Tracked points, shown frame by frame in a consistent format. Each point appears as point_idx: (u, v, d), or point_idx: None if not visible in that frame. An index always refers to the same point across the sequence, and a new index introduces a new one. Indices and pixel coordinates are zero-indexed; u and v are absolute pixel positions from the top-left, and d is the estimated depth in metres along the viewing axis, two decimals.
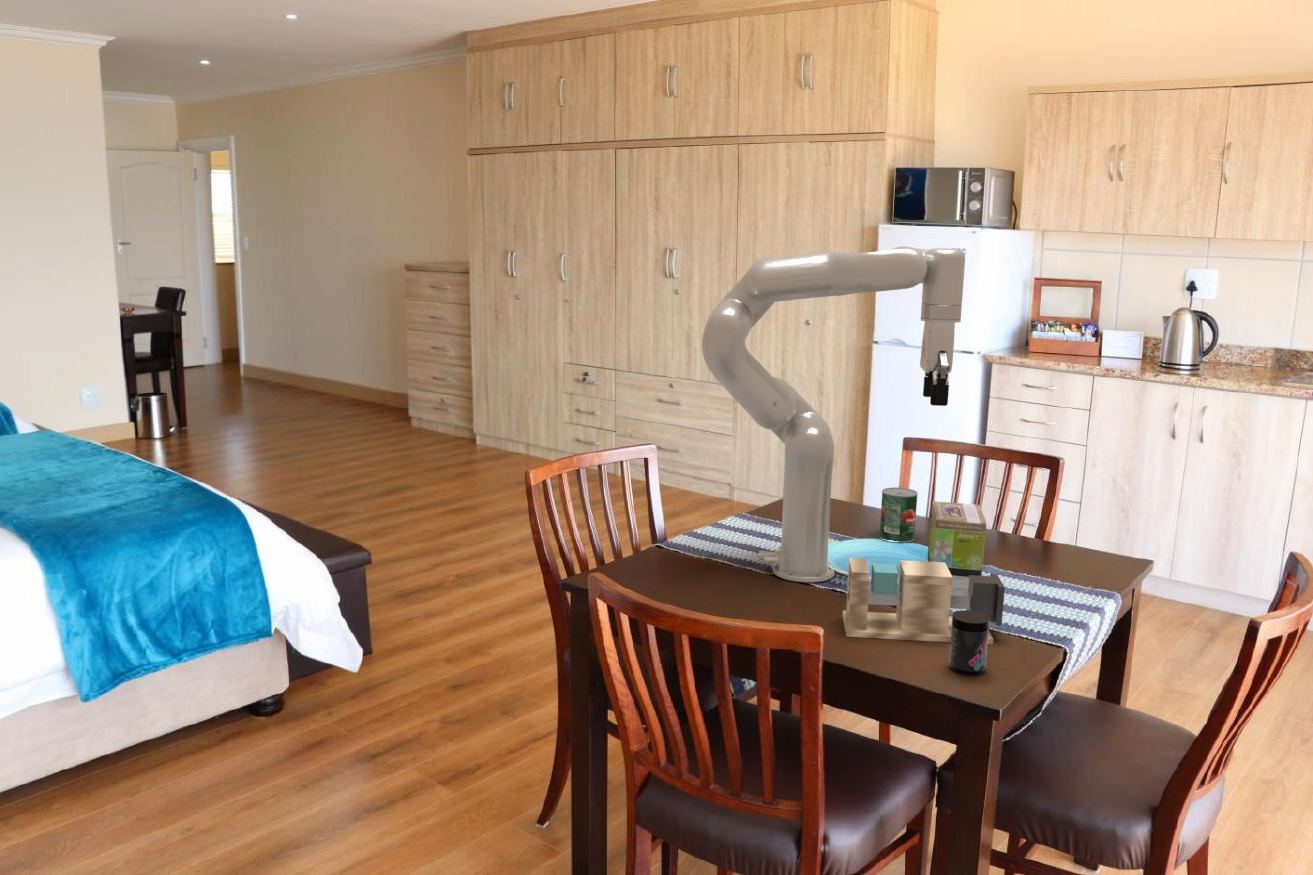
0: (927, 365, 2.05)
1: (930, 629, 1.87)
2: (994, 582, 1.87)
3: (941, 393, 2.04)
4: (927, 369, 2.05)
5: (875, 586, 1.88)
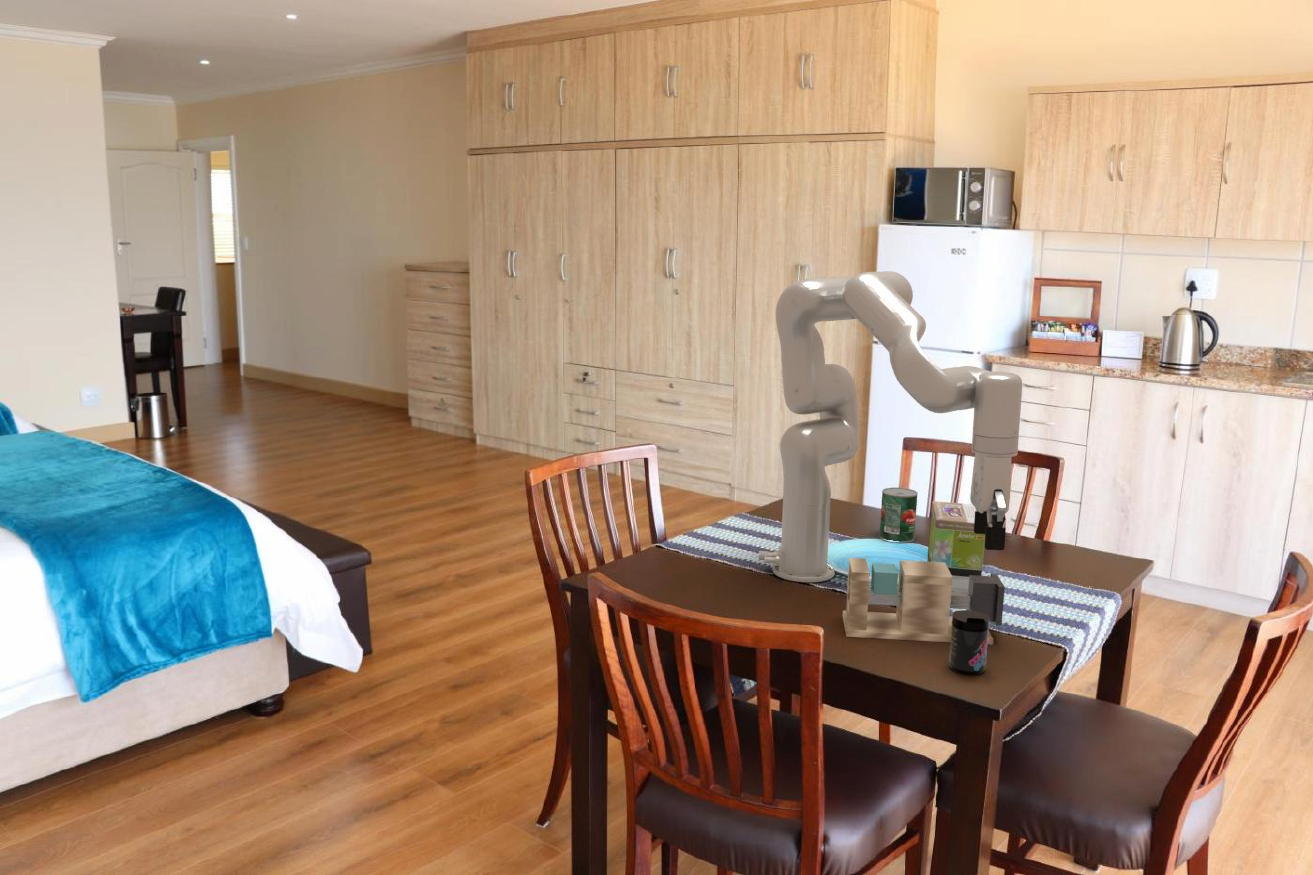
0: (981, 505, 1.81)
1: (930, 629, 1.87)
2: (994, 582, 1.87)
3: (997, 537, 1.80)
4: (981, 509, 1.81)
5: (875, 586, 1.88)
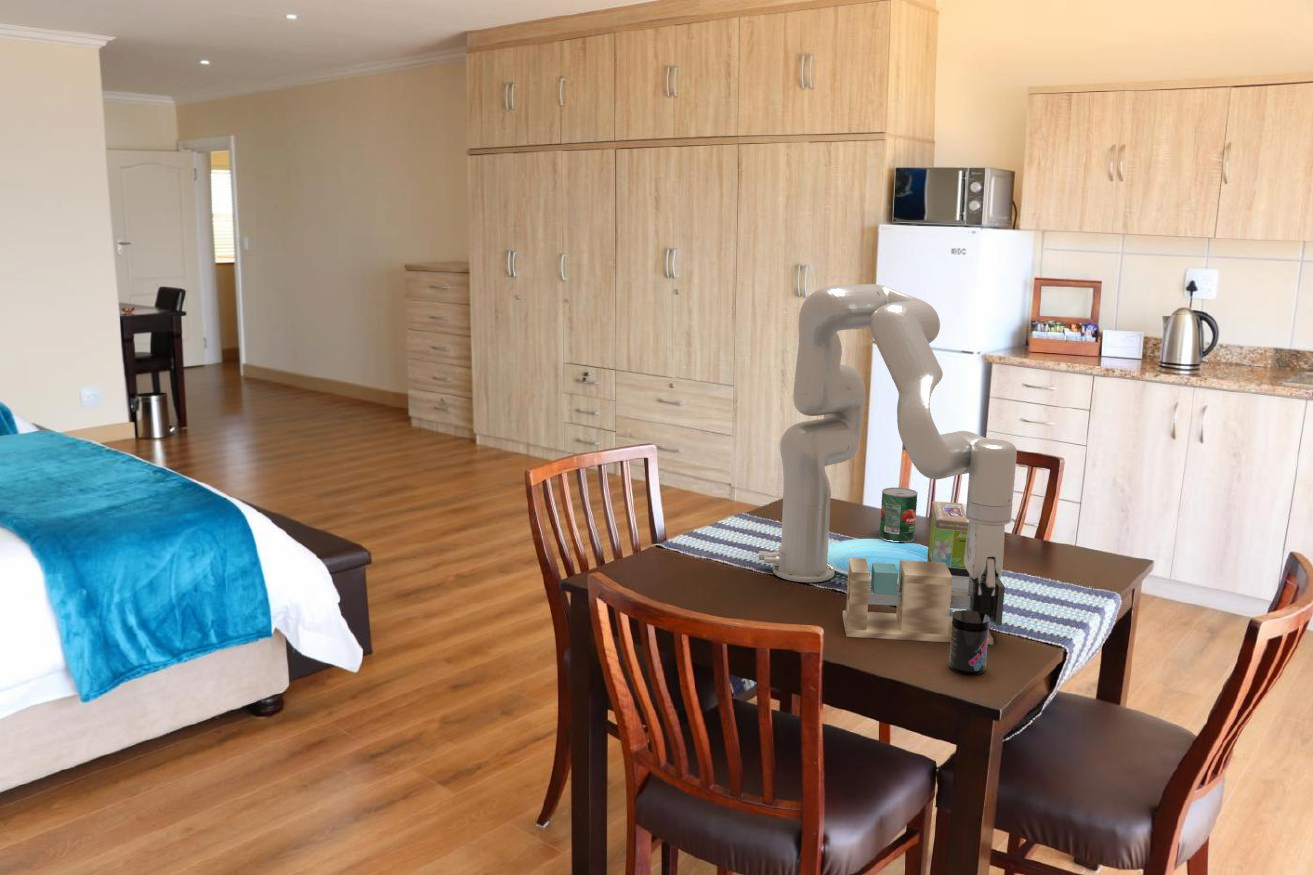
0: (974, 571, 1.84)
1: (930, 629, 1.87)
2: None
3: (986, 604, 1.86)
4: (974, 576, 1.84)
5: (875, 586, 1.88)
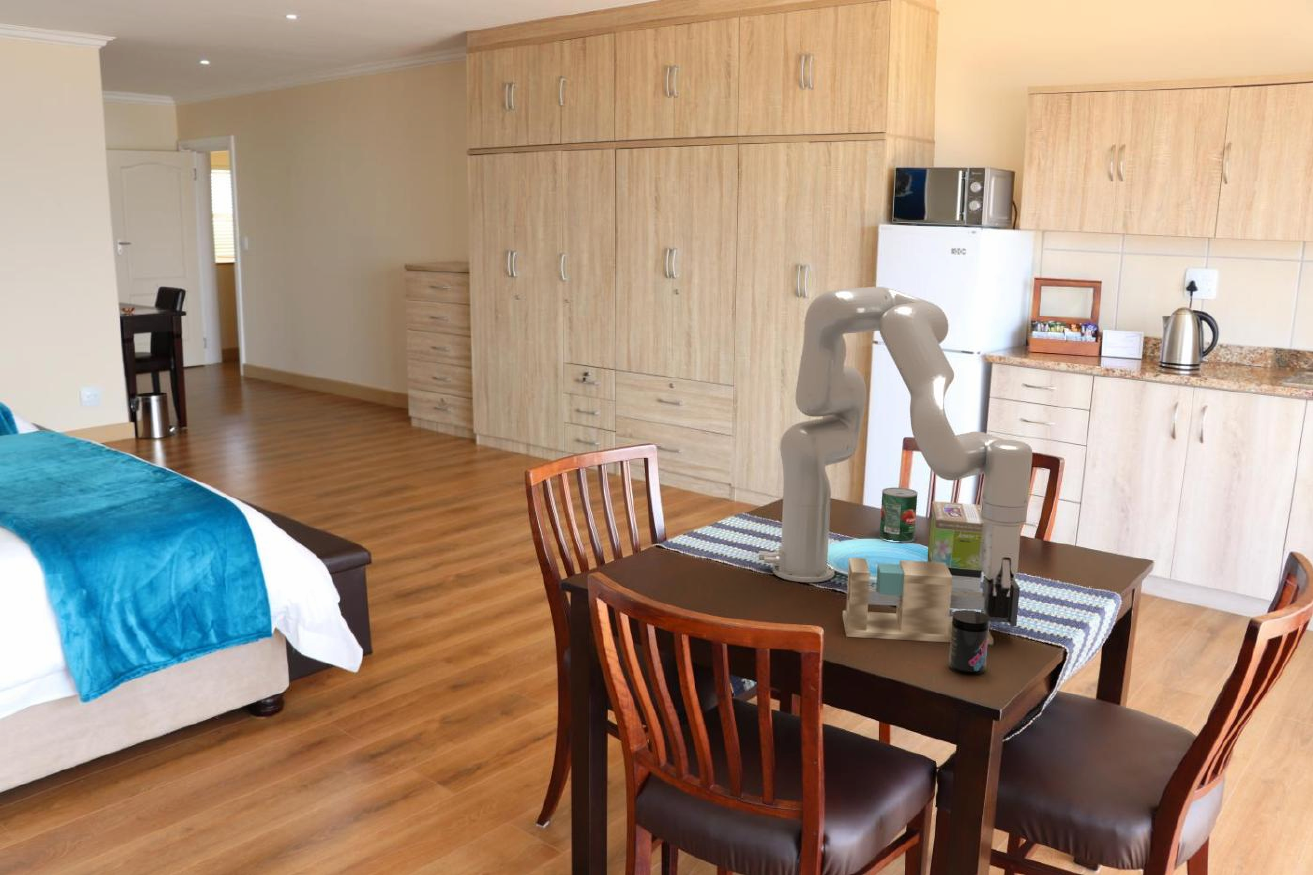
0: (989, 572, 1.83)
1: (930, 629, 1.87)
2: None
3: (1001, 605, 1.86)
4: (989, 576, 1.83)
5: (881, 586, 1.88)
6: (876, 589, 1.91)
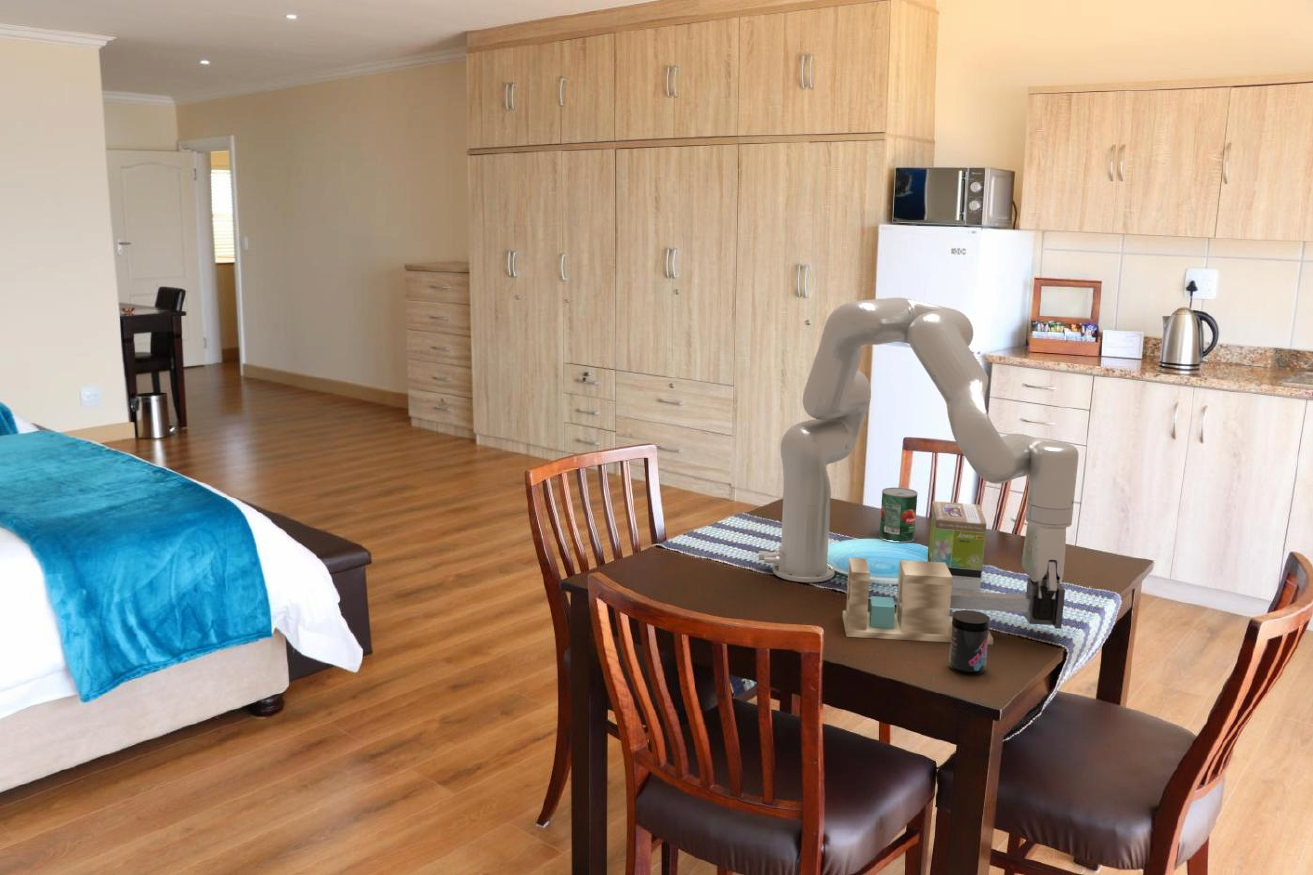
0: (1035, 574, 1.83)
1: (930, 629, 1.87)
2: None
3: (1046, 608, 1.85)
4: (1034, 579, 1.83)
5: (885, 627, 1.89)
6: None
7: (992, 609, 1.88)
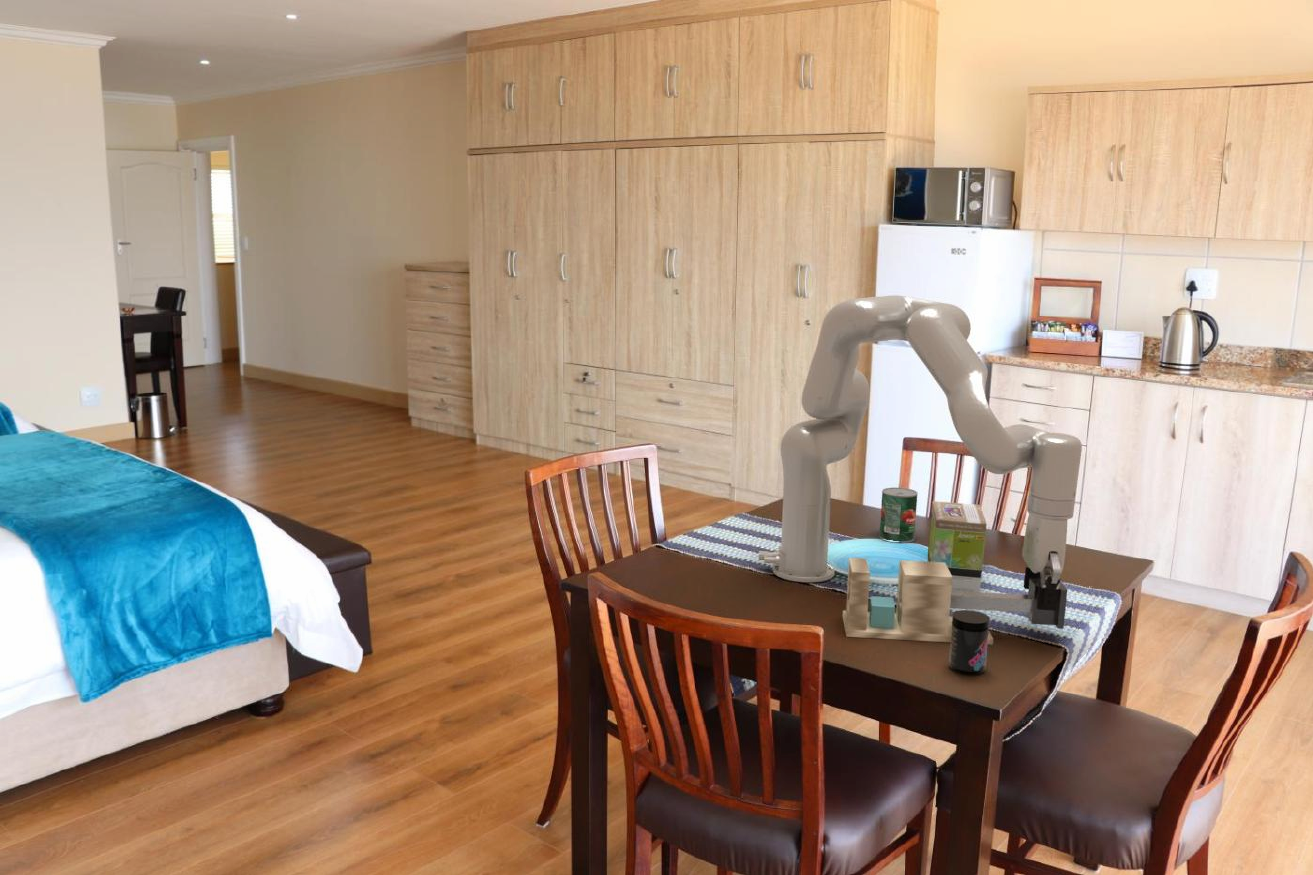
0: (1035, 565, 1.83)
1: (930, 629, 1.87)
2: None
3: (1050, 598, 1.82)
4: (1035, 570, 1.83)
5: (885, 627, 1.89)
6: None
7: (994, 609, 1.88)
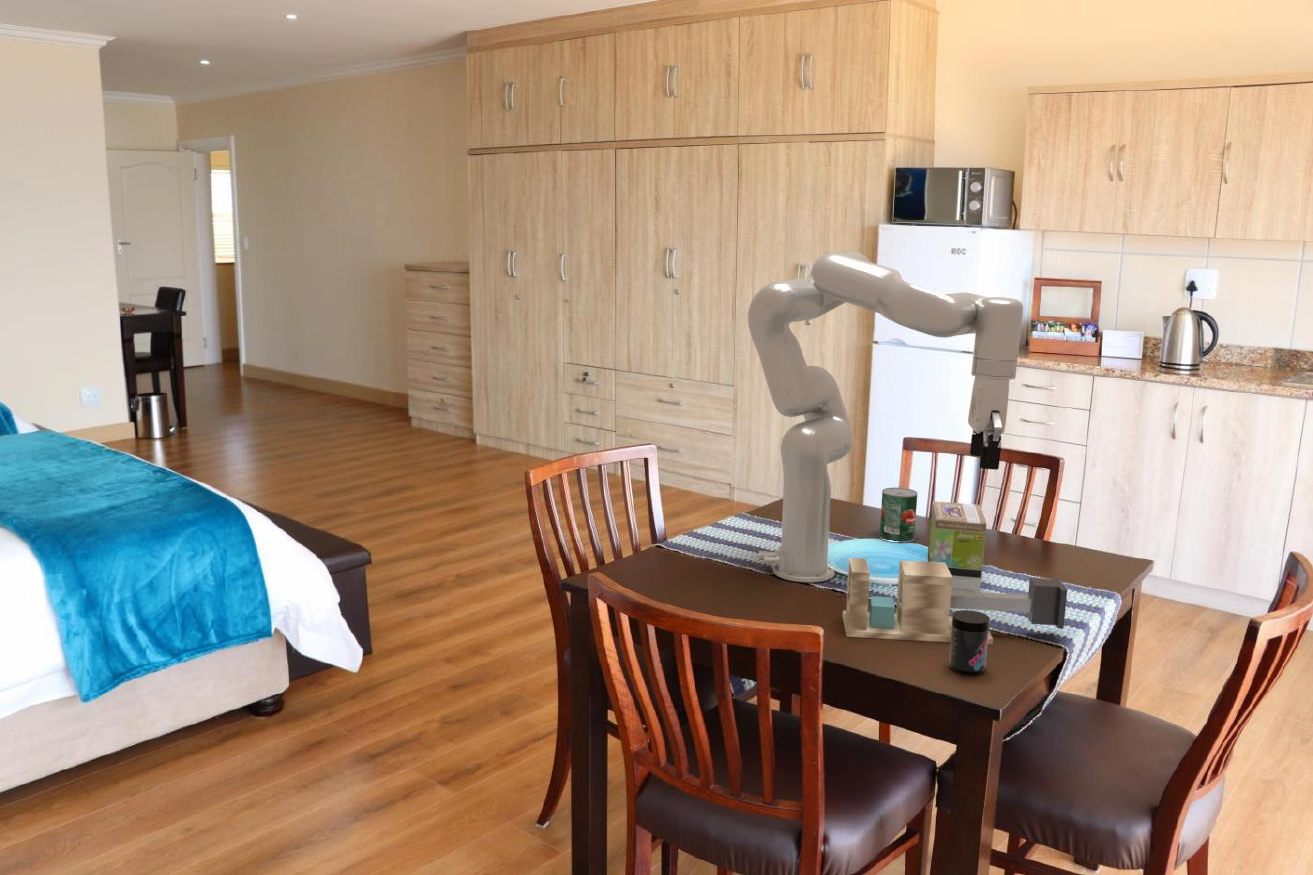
0: (978, 425, 1.88)
1: (930, 629, 1.87)
2: (1056, 585, 1.86)
3: (992, 456, 1.87)
4: (978, 429, 1.88)
5: (885, 627, 1.89)
6: None
7: (994, 609, 1.88)
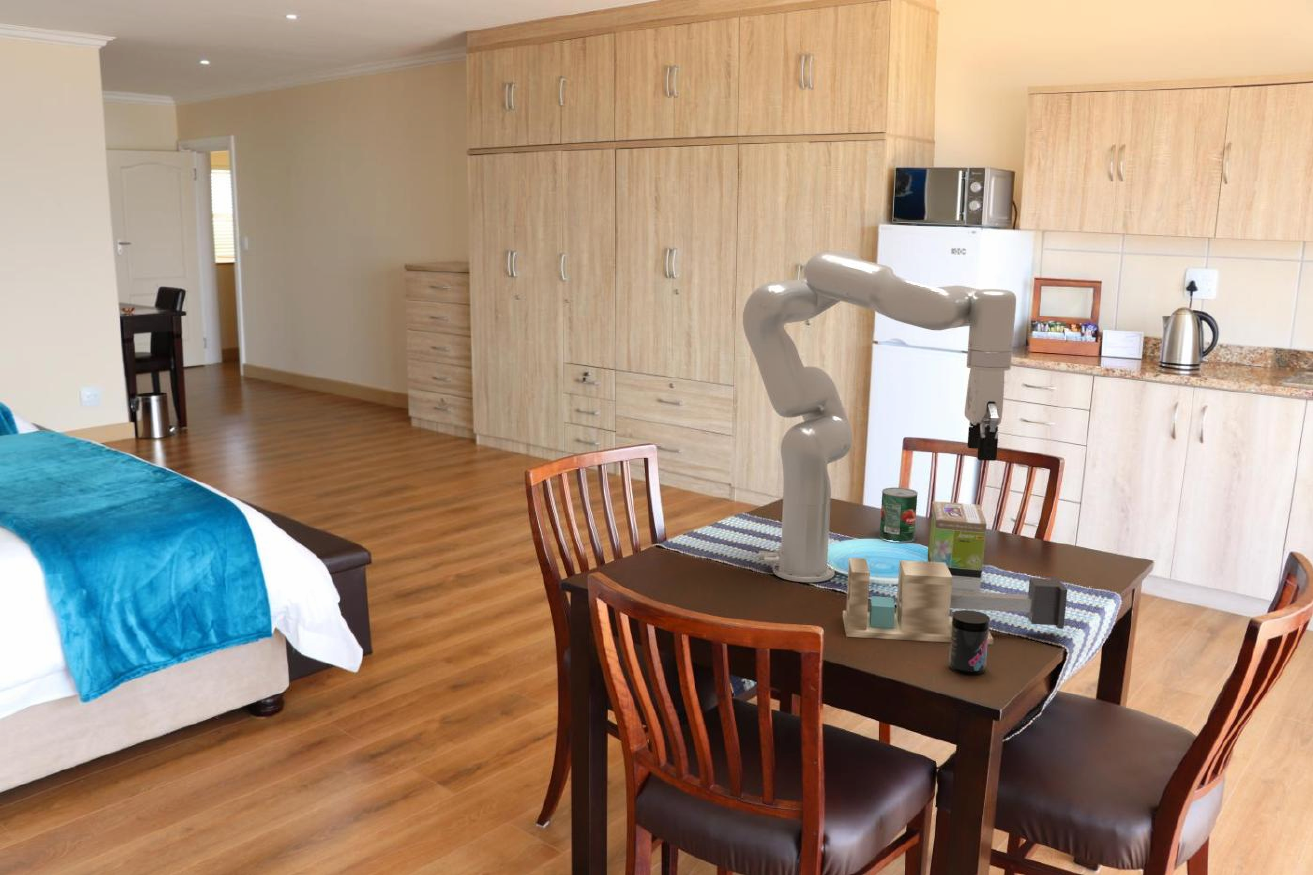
0: (974, 417, 1.88)
1: (930, 629, 1.87)
2: (1056, 585, 1.86)
3: (990, 447, 1.88)
4: (974, 421, 1.88)
5: (885, 627, 1.89)
6: None
7: (994, 609, 1.88)
